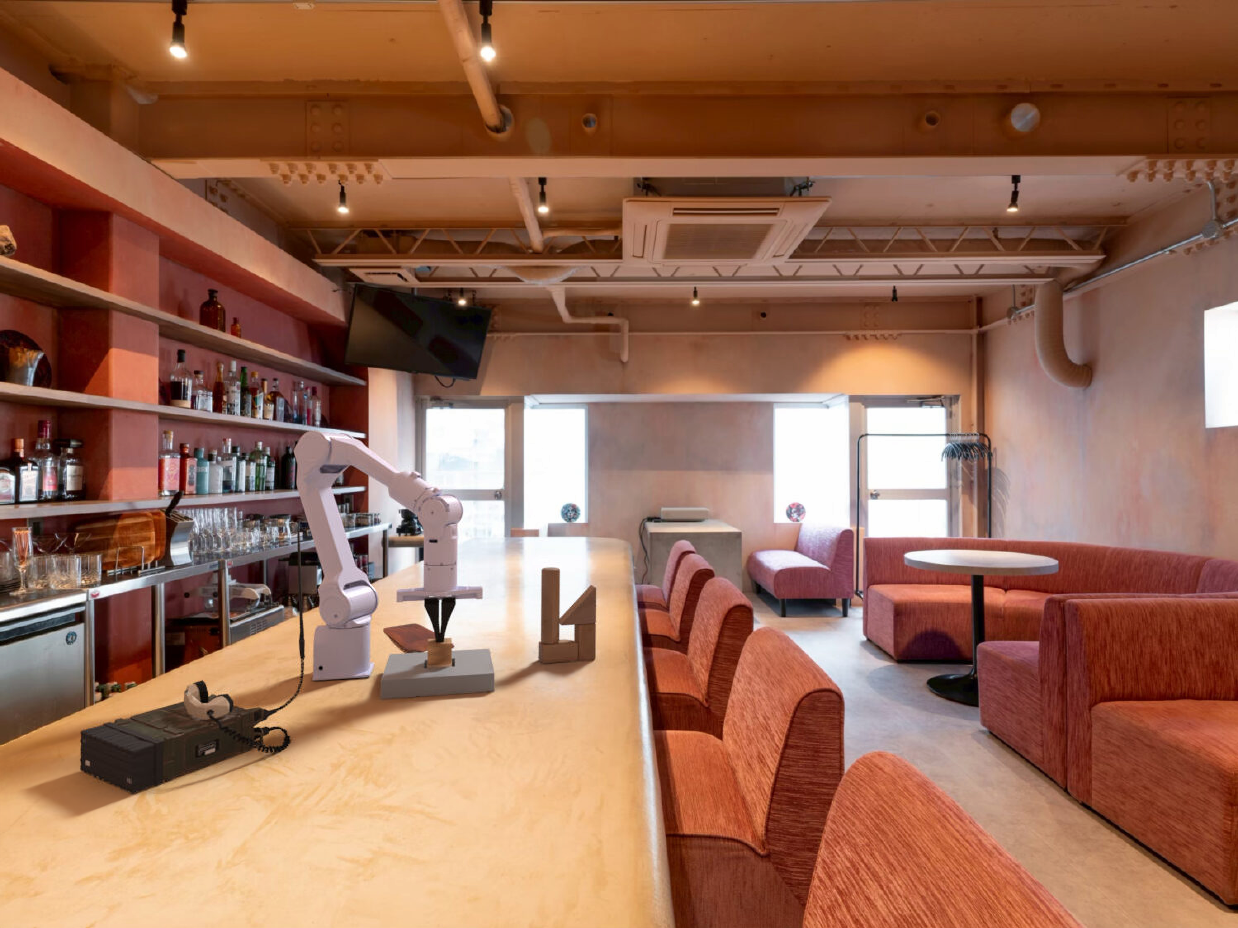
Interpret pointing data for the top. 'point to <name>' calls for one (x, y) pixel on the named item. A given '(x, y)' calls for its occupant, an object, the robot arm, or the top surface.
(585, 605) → the wooden block
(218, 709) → the radio
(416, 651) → the wooden tablet
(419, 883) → the top surface
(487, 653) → the slate board
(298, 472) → the robot arm
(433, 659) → the oak peg
